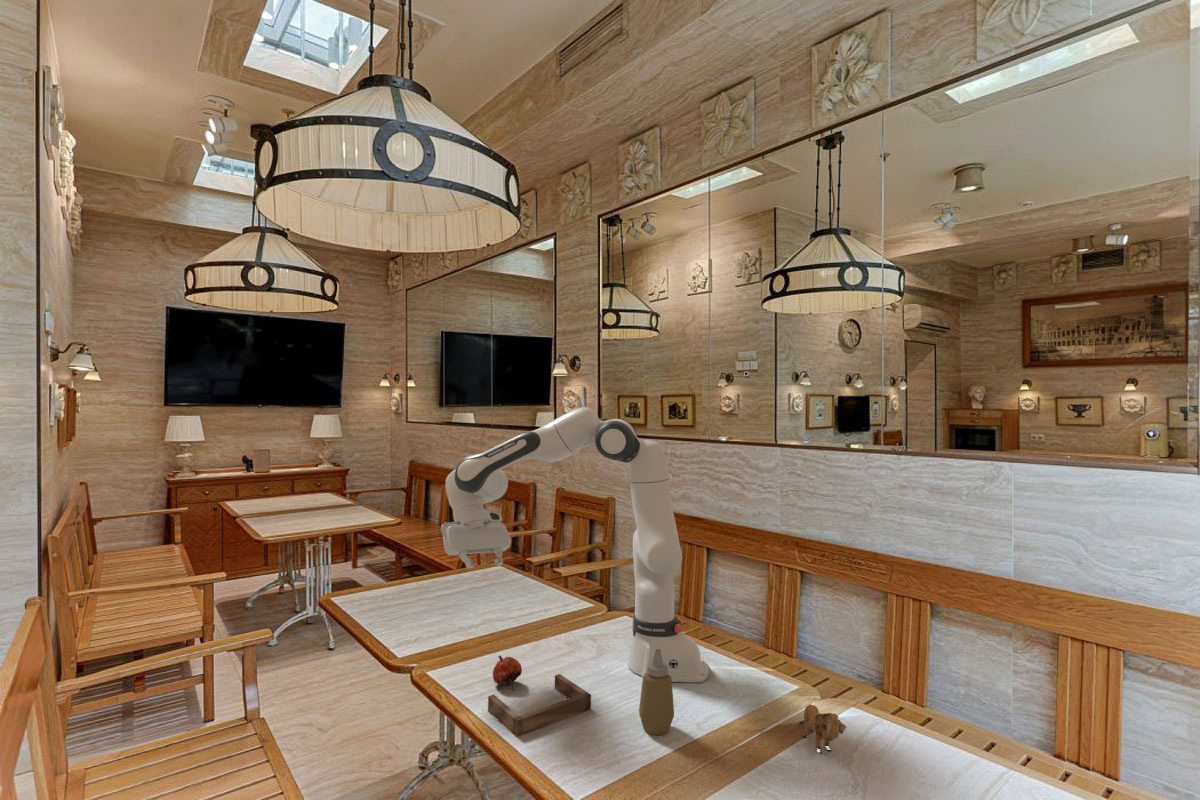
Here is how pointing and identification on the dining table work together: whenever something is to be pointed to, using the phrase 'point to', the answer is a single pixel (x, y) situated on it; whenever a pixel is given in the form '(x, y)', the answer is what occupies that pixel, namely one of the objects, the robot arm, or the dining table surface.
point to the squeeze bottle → (656, 697)
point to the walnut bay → (542, 709)
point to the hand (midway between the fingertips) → (485, 565)
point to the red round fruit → (506, 671)
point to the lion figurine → (822, 725)
